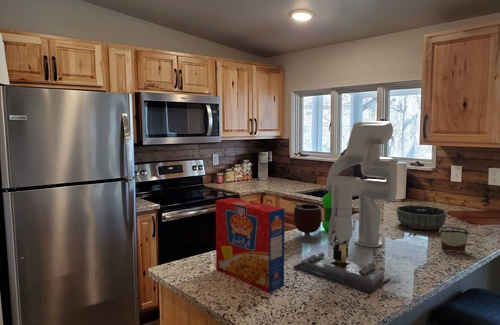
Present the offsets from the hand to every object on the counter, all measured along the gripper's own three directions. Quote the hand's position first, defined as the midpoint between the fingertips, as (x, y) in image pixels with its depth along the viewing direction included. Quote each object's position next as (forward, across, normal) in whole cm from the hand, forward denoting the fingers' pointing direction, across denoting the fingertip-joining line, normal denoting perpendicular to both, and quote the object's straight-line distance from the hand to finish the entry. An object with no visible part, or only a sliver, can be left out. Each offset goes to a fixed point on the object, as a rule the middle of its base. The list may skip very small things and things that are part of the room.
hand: (340, 258), depth 133 cm
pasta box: (+6, +27, -23) cm, 36 cm away
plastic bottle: (+7, -47, -33) cm, 58 cm away
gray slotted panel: (+6, 0, 0) cm, 6 cm away
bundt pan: (+7, -92, -2) cm, 92 cm away
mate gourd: (+6, -25, -34) cm, 43 cm away
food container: (+7, -62, +22) cm, 66 cm away
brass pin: (+4, 0, 0) cm, 4 cm away
